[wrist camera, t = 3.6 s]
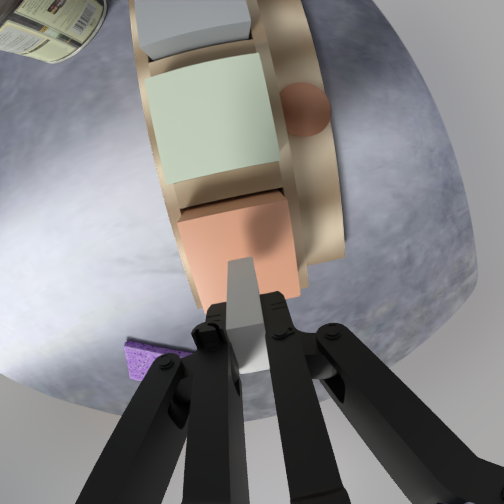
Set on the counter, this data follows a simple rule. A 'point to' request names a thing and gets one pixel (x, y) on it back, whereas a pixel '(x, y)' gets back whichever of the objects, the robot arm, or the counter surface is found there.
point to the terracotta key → (240, 243)
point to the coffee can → (49, 27)
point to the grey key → (189, 25)
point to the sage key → (212, 117)
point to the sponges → (144, 357)
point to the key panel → (287, 131)
